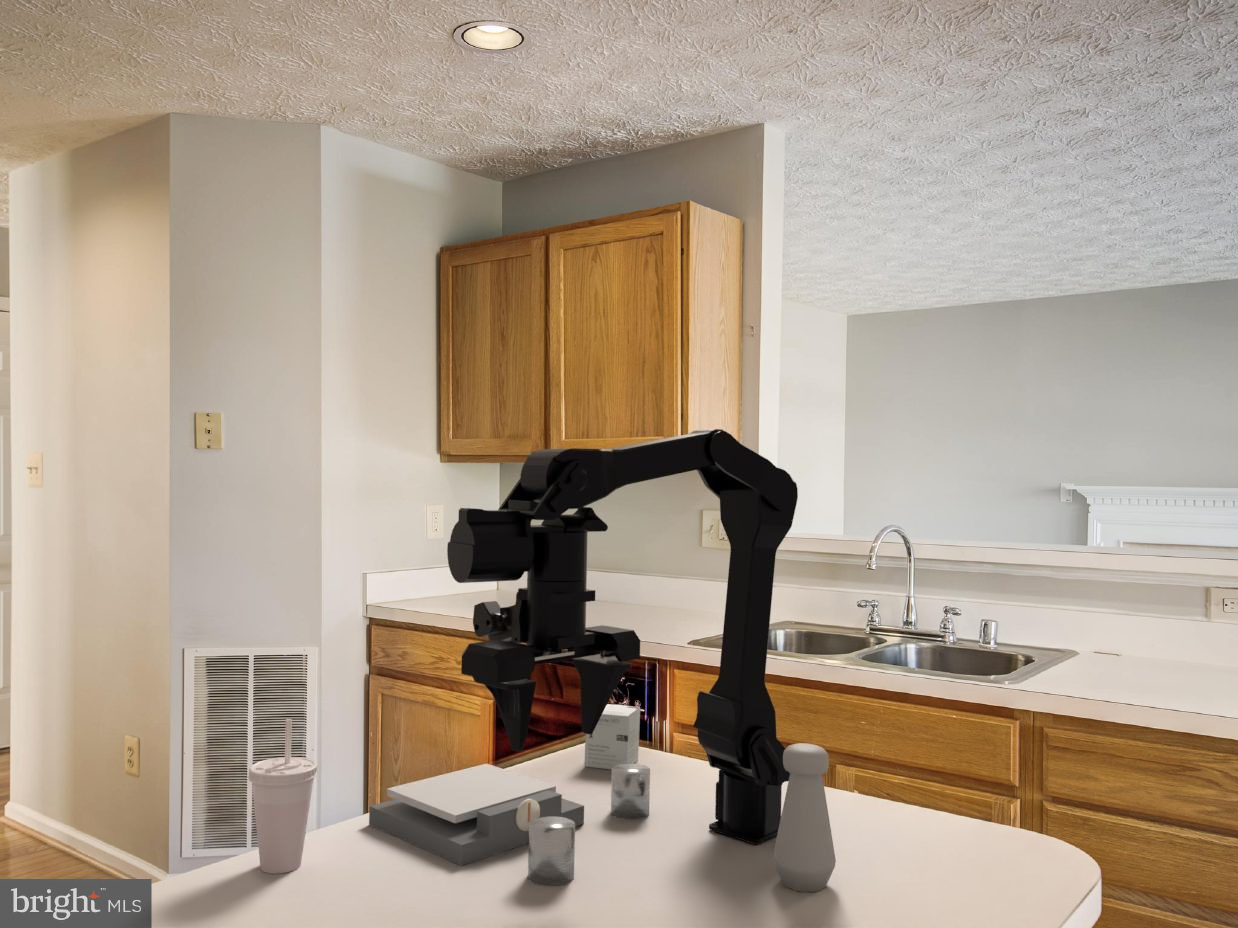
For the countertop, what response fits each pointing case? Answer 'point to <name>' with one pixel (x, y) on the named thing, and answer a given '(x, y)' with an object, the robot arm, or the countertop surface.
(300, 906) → the countertop surface
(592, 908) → the countertop surface
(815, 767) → the salt shaker
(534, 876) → the cylinder
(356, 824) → the countertop surface
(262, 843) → the smoothie
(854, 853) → the countertop surface
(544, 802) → the scale
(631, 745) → the skincare box
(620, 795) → the cylinder
